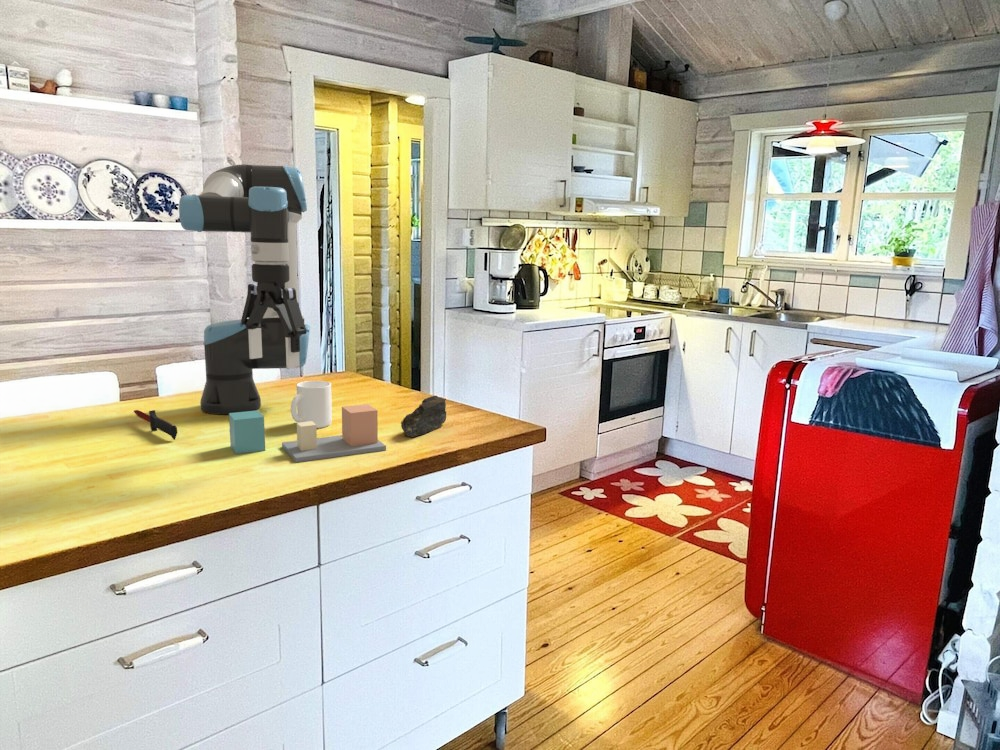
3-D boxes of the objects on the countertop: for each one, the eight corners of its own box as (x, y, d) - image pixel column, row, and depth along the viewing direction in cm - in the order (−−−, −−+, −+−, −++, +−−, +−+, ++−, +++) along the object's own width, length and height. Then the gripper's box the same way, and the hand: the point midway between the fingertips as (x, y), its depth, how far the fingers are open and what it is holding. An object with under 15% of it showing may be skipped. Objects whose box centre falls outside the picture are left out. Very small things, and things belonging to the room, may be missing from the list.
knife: (178, 441, 161) (177, 420, 160) (171, 442, 160) (170, 421, 159) (137, 420, 177) (135, 400, 176) (131, 421, 176) (129, 401, 175)
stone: (421, 420, 183) (397, 438, 169) (422, 390, 181) (398, 406, 167) (447, 424, 181) (425, 443, 167) (448, 394, 179) (426, 410, 165)
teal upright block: (230, 446, 158) (228, 413, 157) (259, 442, 162) (257, 410, 160) (235, 454, 153) (234, 420, 152) (265, 450, 156) (263, 416, 155)
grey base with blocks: (282, 446, 159) (280, 409, 157) (367, 436, 169) (367, 400, 167) (295, 462, 149) (294, 422, 147) (386, 450, 159) (385, 412, 157)
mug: (304, 434, 169) (303, 392, 167) (279, 429, 173) (277, 387, 171) (338, 423, 179) (338, 383, 177) (314, 418, 183) (313, 379, 181)
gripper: (221, 260, 153) (226, 356, 158) (291, 267, 138) (294, 373, 143) (252, 259, 159) (256, 352, 164) (322, 266, 144) (324, 368, 149)
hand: (274, 362), depth 153 cm, fingers open, 13 cm apart
